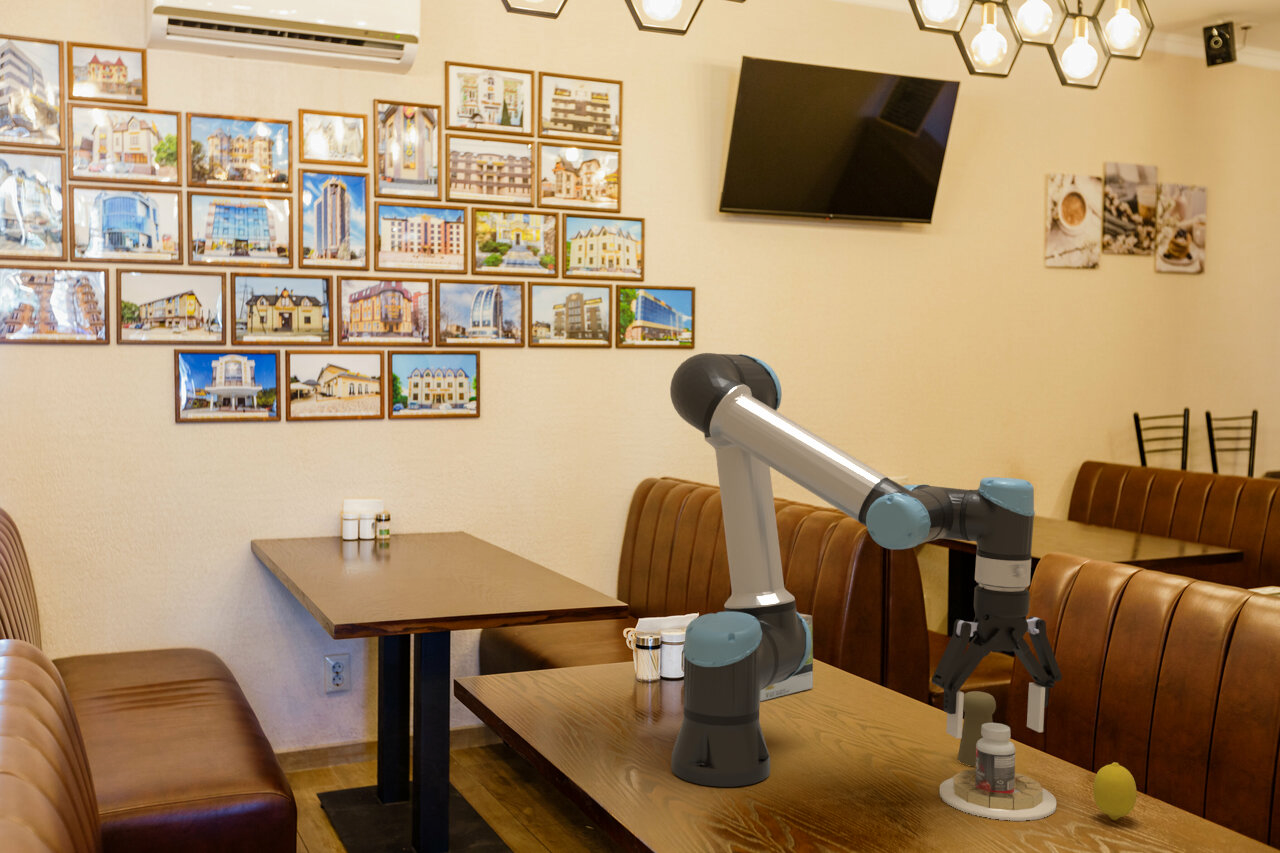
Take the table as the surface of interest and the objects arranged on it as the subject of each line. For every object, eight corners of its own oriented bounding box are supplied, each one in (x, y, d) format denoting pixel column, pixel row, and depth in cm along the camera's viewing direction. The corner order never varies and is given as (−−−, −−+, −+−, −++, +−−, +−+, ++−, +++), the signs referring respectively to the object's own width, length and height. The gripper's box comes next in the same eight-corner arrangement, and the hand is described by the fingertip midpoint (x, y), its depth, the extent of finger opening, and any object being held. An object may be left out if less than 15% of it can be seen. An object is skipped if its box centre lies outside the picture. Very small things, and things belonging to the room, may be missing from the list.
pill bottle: (967, 788, 162) (969, 722, 162) (1000, 785, 164) (1001, 719, 163) (988, 802, 157) (990, 733, 157) (1021, 798, 158) (1023, 731, 158)
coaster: (982, 826, 150) (982, 820, 150) (918, 785, 165) (918, 780, 165) (1081, 814, 155) (1081, 808, 155) (1009, 775, 170) (1010, 770, 170)
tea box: (776, 679, 226) (777, 606, 225) (814, 690, 218) (815, 614, 217) (722, 691, 216) (724, 615, 215) (760, 703, 208) (761, 624, 208)
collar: (986, 813, 153) (986, 802, 153) (937, 783, 164) (937, 772, 164) (1059, 804, 156) (1059, 793, 156) (1007, 776, 168) (1007, 765, 168)
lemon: (1085, 819, 153) (1087, 762, 153) (1102, 809, 157) (1103, 753, 157) (1126, 831, 149) (1127, 772, 149) (1142, 820, 153) (1144, 763, 153)
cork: (966, 752, 181) (968, 685, 181) (1003, 761, 177) (1004, 692, 177) (951, 762, 176) (952, 693, 176) (988, 770, 172) (990, 700, 172)
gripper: (940, 593, 152) (933, 746, 153) (1092, 589, 159) (1084, 734, 160) (911, 583, 159) (904, 729, 160) (1058, 579, 167) (1050, 719, 168)
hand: (994, 732), depth 160 cm, fingers open, 13 cm apart
